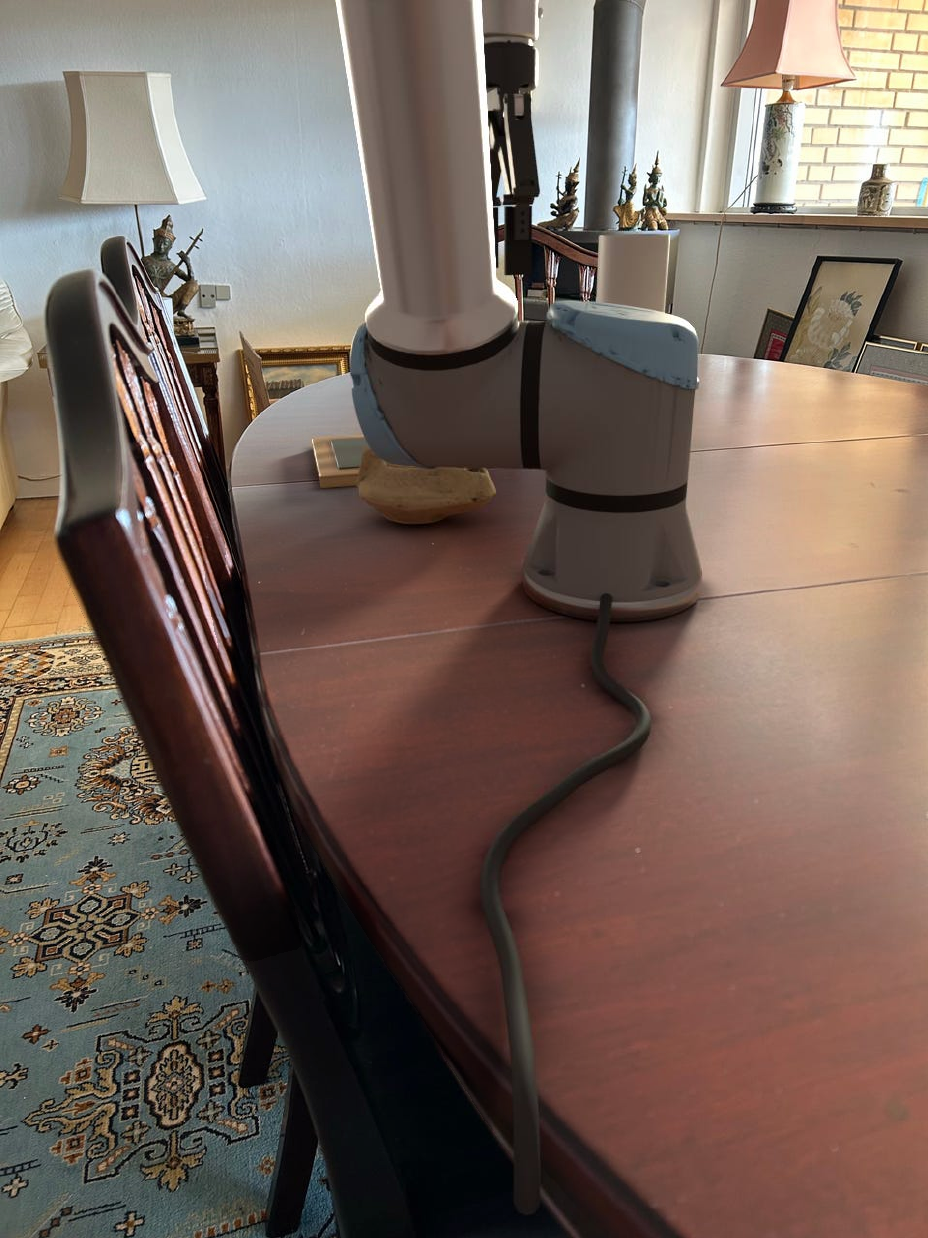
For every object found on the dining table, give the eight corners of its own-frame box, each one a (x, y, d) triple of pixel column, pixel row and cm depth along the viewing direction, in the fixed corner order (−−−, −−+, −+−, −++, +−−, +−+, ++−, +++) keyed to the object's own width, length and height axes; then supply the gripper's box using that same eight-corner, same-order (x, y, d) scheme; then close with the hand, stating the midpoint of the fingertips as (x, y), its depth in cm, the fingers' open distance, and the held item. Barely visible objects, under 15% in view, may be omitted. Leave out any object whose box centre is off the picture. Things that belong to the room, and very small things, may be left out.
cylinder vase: (582, 375, 173) (587, 235, 163) (640, 370, 177) (649, 233, 166) (611, 386, 162) (618, 237, 152) (672, 381, 166) (683, 234, 155)
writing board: (451, 478, 110) (451, 465, 109) (320, 488, 107) (319, 474, 106) (425, 440, 128) (424, 429, 127) (312, 448, 125) (311, 436, 124)
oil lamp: (494, 535, 91) (494, 458, 87) (348, 534, 92) (342, 458, 88) (498, 502, 101) (497, 432, 97) (366, 502, 102) (361, 432, 98)
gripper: (577, 22, 80) (569, 276, 88) (505, 64, 102) (505, 264, 111) (495, 20, 78) (496, 279, 87) (440, 64, 100) (445, 266, 109)
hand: (501, 271), depth 99 cm, fingers open, 13 cm apart
